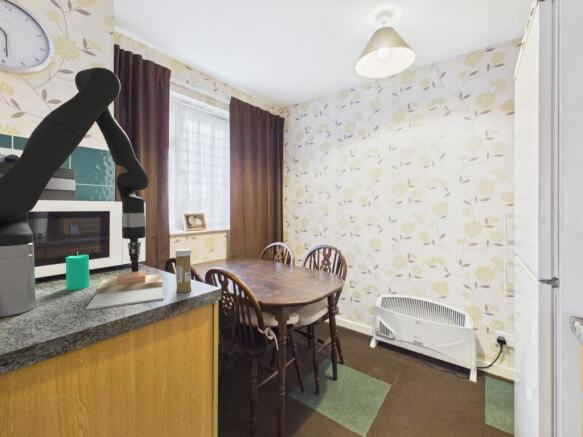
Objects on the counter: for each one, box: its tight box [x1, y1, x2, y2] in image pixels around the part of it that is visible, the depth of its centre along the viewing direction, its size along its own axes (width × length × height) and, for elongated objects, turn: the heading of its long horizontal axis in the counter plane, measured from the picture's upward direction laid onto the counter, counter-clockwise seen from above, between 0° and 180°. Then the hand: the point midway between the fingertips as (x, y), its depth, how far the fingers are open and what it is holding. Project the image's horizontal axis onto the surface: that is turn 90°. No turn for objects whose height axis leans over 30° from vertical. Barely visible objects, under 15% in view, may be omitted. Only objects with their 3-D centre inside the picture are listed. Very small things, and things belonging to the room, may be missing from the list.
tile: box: [116, 270, 147, 285], centre depth 88 cm, size 8×8×2 cm
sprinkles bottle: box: [174, 248, 192, 294], centre depth 84 cm, size 5×5×13 cm
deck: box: [95, 273, 163, 295], centre depth 89 cm, size 18×12×2 cm, turn 118°
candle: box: [65, 251, 90, 291], centre depth 87 cm, size 6×6×12 cm
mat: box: [85, 285, 164, 311], centre depth 77 cm, size 18×13×1 cm
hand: (135, 271), depth 97 cm, fingers closed
